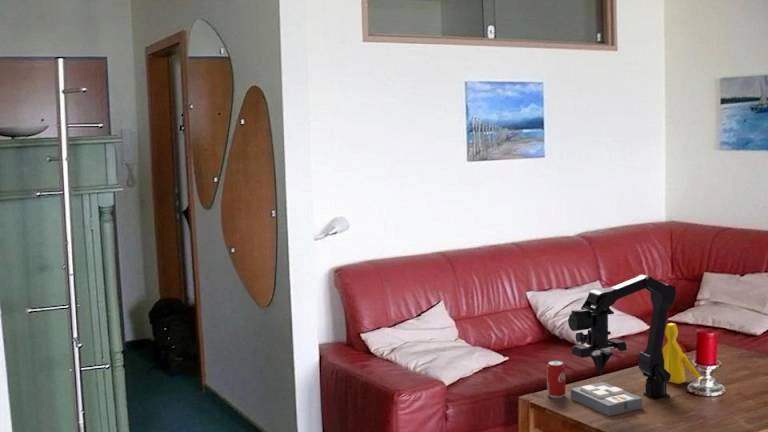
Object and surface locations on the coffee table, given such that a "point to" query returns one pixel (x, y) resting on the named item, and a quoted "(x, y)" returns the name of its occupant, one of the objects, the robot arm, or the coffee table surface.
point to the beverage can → (555, 379)
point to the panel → (608, 401)
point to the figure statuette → (675, 357)
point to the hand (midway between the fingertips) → (599, 372)
